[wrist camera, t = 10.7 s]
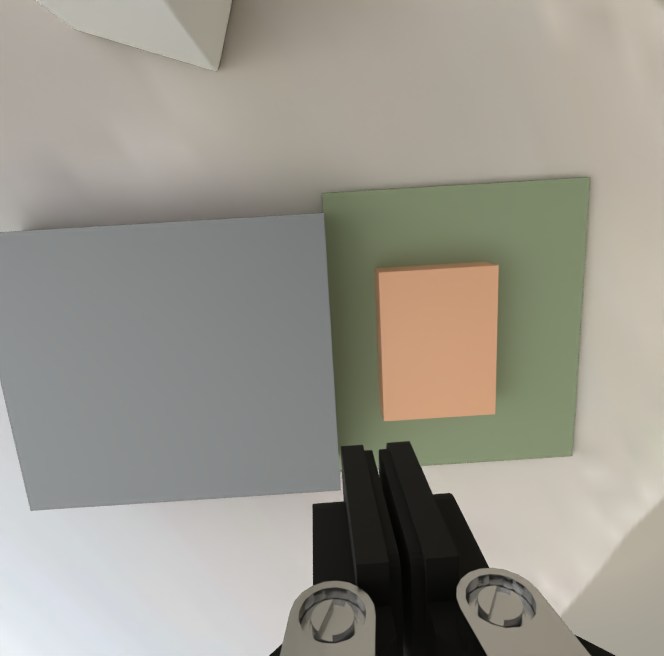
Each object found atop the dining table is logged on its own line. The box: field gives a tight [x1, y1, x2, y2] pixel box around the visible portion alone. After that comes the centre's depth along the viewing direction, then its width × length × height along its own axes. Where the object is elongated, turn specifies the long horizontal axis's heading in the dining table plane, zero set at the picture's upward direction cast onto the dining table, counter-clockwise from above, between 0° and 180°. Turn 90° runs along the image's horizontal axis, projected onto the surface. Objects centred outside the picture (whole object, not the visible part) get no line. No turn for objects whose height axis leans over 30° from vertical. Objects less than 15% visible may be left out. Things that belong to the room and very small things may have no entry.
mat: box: [322, 177, 590, 471], centre depth 27 cm, size 16×14×1 cm
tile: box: [374, 262, 499, 421], centre depth 26 cm, size 8×6×2 cm
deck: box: [0, 213, 341, 511], centre depth 25 cm, size 14×16×4 cm
